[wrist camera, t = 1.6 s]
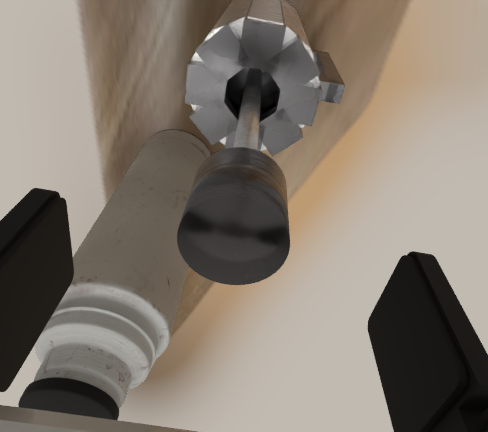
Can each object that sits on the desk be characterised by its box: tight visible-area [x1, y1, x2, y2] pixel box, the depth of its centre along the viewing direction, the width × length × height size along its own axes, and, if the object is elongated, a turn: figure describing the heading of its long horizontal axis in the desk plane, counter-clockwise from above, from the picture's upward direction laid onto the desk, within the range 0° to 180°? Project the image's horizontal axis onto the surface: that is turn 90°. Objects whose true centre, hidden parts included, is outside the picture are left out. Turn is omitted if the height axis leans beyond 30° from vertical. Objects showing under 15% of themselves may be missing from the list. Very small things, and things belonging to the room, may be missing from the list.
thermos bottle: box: [19, 130, 211, 420], centre depth 31 cm, size 8×8×28 cm
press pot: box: [185, 0, 345, 156], centre depth 28 cm, size 8×10×16 cm
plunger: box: [177, 67, 290, 285], centre depth 18 cm, size 5×5×18 cm
